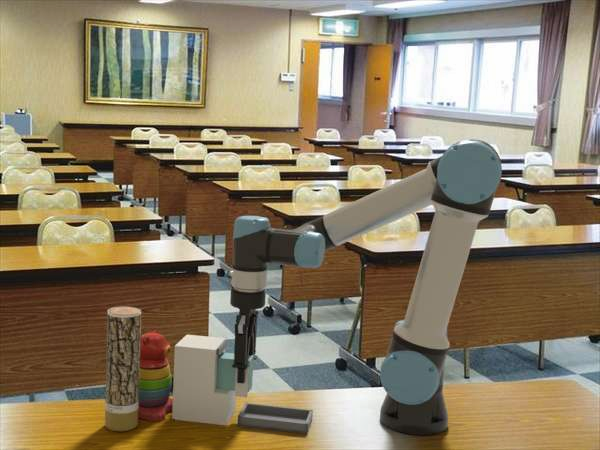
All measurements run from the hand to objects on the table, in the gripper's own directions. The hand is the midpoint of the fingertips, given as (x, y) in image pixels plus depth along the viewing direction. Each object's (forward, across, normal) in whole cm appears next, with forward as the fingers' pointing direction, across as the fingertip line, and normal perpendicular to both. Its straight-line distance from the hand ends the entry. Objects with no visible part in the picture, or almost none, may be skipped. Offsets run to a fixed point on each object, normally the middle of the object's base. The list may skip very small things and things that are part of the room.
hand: (243, 392), depth 169 cm
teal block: (-1, 0, -4) cm, 4 cm away
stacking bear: (+6, +1, -20) cm, 21 cm away
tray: (+6, 0, +8) cm, 10 cm away
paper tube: (+6, +11, -24) cm, 27 cm away
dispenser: (+6, 0, -8) cm, 10 cm away
